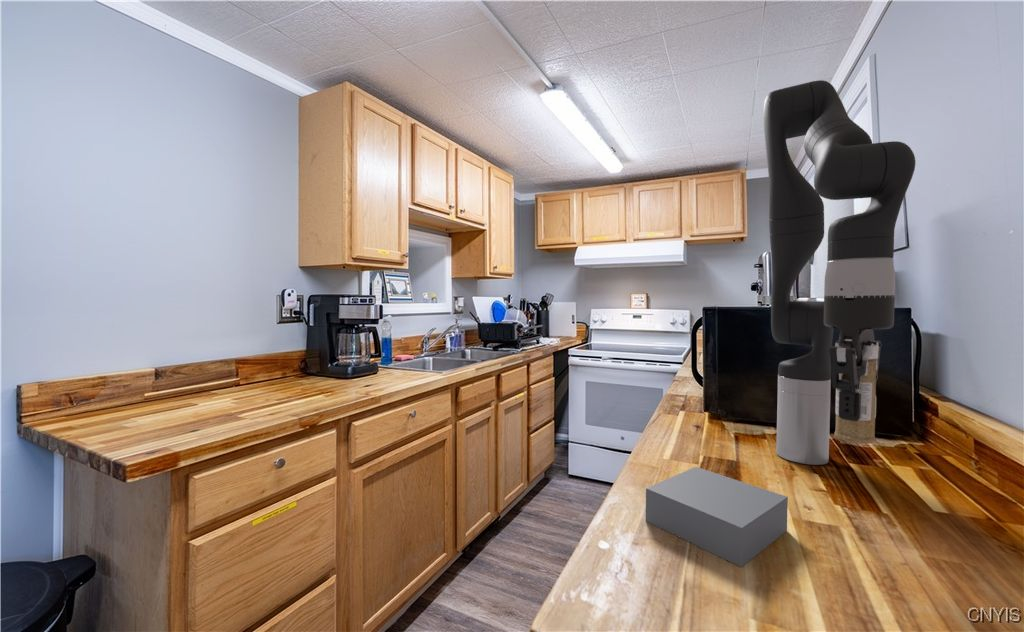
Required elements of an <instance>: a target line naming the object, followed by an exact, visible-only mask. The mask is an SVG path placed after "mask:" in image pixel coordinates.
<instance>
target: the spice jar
mask: <svg viewBox="0 0 1024 632" xmlns="http://www.w3.org/2000/svg"><path fill="white" fill-rule="evenodd" d="M862 358H863V350H862ZM877 358H878V346H877V345H873V349H872V355H871V356H869V360H870V361H869V371H868V376H866V377H864V378H863V381H862V391H861V393H860V394H861V411H860V419H859V420H858V421H851V420H845V419H841V418H840V417H839V391H837V389H836V388H835V431H834V436H835V437H836V438H837V439H839V440H842V441H845V442H847V443H854V444H860V445H868V444H874V443H876V441H877V440H876V436H875V433H876V430H875V429H876V418H877V417H876V416H877V390H876V389H877V387H876V386H877V381H876V362H877V360H876V359H877ZM861 366H862V365H861ZM861 366H859V367H857V369H860V368H861ZM844 380H846V381H850V376H849V375H845V379H844Z"/></svg>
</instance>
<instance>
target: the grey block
mask: <svg viewBox="0 0 1024 632" xmlns="http://www.w3.org/2000/svg"><path fill="white" fill-rule="evenodd" d="M788 501H789V498H788V496H786V495H783V494H780V493H778V492H774V491H771V490H769V489H765V488H762V487H758V486H756V485H752V484H750V483H747V482H743V481H740V480H737V479H735V478H732V477H728V476H725V475H722V474H720V473H718V472H717V473H716V472H713V471H710V470H707V469H704V468H701V467H698V466H694V467H692V468H689V469H687V470H686V471H682V472H681V473H678V474H676V475H674V476H672V477H669V478H667V479H664V480H662V481H660V482H658V483H655V484H653V485H651V486H648V487H646V488H645V522H647V523H649V524H651V525H653V526H655V527H657V528H660V529H661V530H663V531H665V530H666V532H667V531H668V532H667V533H670V534H672V533H673V534H672V535H674V534H675V535H674V536H676V535H677V536H676V537H678V536H680V537H681V538H680V537H679V538H680V539H682V538H683V539H682V540H684V539H685V540H684V541H686V542H688V541H689V542H688V543H690V542H691V544H693V545H694V546H697V548H698V547H699V548H701V549H702V550H705V551H707V552H709V553H711V554H713V555H715V556H717V557H719V558H721V559H724V560H725V561H727V560H728V562H729V561H730V562H729V563H731V562H733V563H734V565H735V566H737V567H739V568H742V567H744V565H746V564H747V563H749V561H751V560H752V559H754V557H756V556H757V555H758V554H760V553H761V552H762V551H764V549H766V548H767V547H768V546H770V545H771V544H772V543H774V542H775V541H776V540H777V539H778V538H780V537H781V536H783V535H784V534H785V533H786V532H787V531H788V507H789V506H788V505H789V502H788ZM733 563H732V564H733Z"/></svg>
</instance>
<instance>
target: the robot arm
mask: <svg viewBox="0 0 1024 632" xmlns="http://www.w3.org/2000/svg"><path fill="white" fill-rule="evenodd" d="M762 120H763V121H762V122H763V131H764V143H765V151H766V161H767V173H768V226H769V243H770V254H771V278H772V279H771V308H770V328H771V335H772V337H773V339H774V341H775V342H776V343H778V344H785V345H800V346H804V345H805V346H812V348H811V351H810V352H808V353H806V354H805V355H802V356H800V357H796V358H791V359H787V360H781V361H780V362H779V363H778V367H777V407H776V408H777V409H776V451H775V453H776V455H777V456H779V457H781V458H783V459H784V460H787V461H790V462H795V463H798V464H803V465H804V464H805V465H810V466H811V465H814V466H819V465H821V466H822V465H826V464H828V463H829V459H830V458H829V455H830V454H829V453H830V427H831V426H830V424H831V423H830V421H831V419H830V418H831V385H832V389H835V390H836V389H837V391H839V417H840V418H841V419H845V420H851V421H858V420H859V419H860V411H861V394H860V393H861V391H862V381H863V378H864V377H866V376H868V371H869V361H870V360H869V356H871V355H872V349H873V345H877V346H878V358H877V359H876V360H877V362H876V382H877V381H878V380H879V376H878V373H879V365H880V358H881V357H880V356H881V350H882V349H881V348H882V346H883V345H882V343H881V342H882V341H881V340H875V330H889V329H892V328H893V327H894V325H895V303H896V302H895V301H896V300H895V298H896V270H895V265H894V254H895V253H894V252H895V251H894V248H895V247H894V246H895V228H896V225H897V224H896V223H897V220H898V217H899V214H900V210H901V208H902V205H903V201H904V198H905V196H906V194H907V191H908V189H909V186H910V183H911V182H912V179H913V176H914V173H915V168H916V157H915V153H914V152H913V150H912V148H911V147H910V146H909V145H908V144H906V143H905V142H902V141H898V140H897V141H894V140H893V141H892V140H891V141H884V142H883V141H882V142H875V143H873V141H872V140H873V139H871V136H870V135H869V134H868V132H866V131H865V130H864V128H863V127H861V126H860V125H858V124H857V123H856V122H854V121H853V120H852V119H851V118H850V116H849V115H848V113H847V111H846V108H845V106H844V103H843V102H842V99H841V98H840V96H839V94H838V91H836V89H835V87H834V86H833V84H831V83H830V82H829V81H827V80H823V79H821V80H813V81H809V82H805V83H800V84H796V85H791V86H788V87H787V86H786V87H783V88H779V89H775V90H772V91H771V92H769V93H768V94H767V95H766V97H765V99H764V102H763V111H762ZM799 137H804V140H803V148H804V152H805V154H806V156H807V157H808V159H809V160H810V162H811V163H812V164H813V165H814V169H815V170H814V176H813V185H812V184H811V183H810V182H809V181H808V180H807V179H806V178H805V177H804V176H803V175H802V173H801V172H800V170H799V169H798V168H797V166H796V165H795V163H794V161H793V160H792V158H791V155H790V152H789V149H788V146H787V140H788V139H792V138H793V139H794V138H799ZM822 198H824V199H827V200H831V201H842V200H853V199H854V200H855V199H869V198H870V202H869V205H868V206H867V208H866V210H865V211H864V212H861V213H856V214H851V215H847V216H843V217H840V218H837V219H835V220H834V221H832V222H831V223H830V224H829V226H828V230H827V262H826V269H825V275H824V285H823V286H824V289H823V290H824V293H823V301H821V300H819V301H818V300H817V301H816V300H813V301H811V300H808V301H807V300H804V301H803V300H802V301H801V300H800V301H799V300H797V301H796V300H795V301H793V300H792V301H791V292H792V289H793V286H794V284H795V283H796V280H797V278H798V277H799V275H800V274H801V272H802V270H803V269H804V267H805V266H806V265H807V264H808V262H810V260H811V258H812V257H813V256H814V254H816V251H817V250H818V248H819V247H820V246H821V243H822V242H823V239H824V236H825V205H824V201H823V199H822ZM834 328H835V329H836V328H837V329H839V331H840V332H839V337H838V340H836V341H835V343H834V344H835V345H834V346H833V338H834ZM862 350H863V358H862ZM861 365H862V366H861ZM859 366H861V368H860V369H857V367H859ZM845 375H849V376H850V381H846V380H844V379H845Z"/></svg>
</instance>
